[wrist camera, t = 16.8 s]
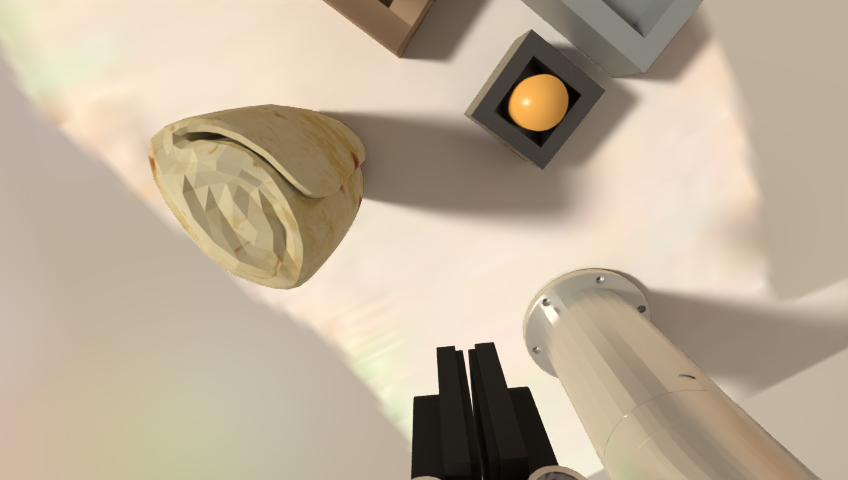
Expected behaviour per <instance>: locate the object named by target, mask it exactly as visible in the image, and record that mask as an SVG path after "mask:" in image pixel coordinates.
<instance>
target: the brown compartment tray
mask: <svg viewBox="0 0 848 480" xmlns="http://www.w3.org/2000/svg"><path fill="white" fill-rule="evenodd" d="M323 1H324V2H326V3H327V4H328V5H330V6H331V7H332V8H334V9H335V10H336V11H337V12H339V13H340V14H341V15H343V16H344V17H345V18H347V19H348V20H349V21H351V22H352V23H353V24H355V25H356V26H357V27H359V28H360V29H361V30H363V31H364V32H365V33H367V34H368V35H369V36H371V37H372V38H373V39H375V40H376V41H377V42H379V43H380V44H381V45H383V46H384V47H385V48H387V49H388V50H389V51H391V52H392V53H393V54H395V55H396V56H397V57H399V58H400V56H401V55H402V53H403V51H404V50H405V48H406V47H407V45H408V43H409V42H410V40H411V38H412V37H413V35H414V34H415V32H416V30H417V29H418V27H419V26H420V24H421V22H422V21H423V19H424V17H425V16H426V14H427V13H428V11H429V9H430V8H431V6H432V5H433V3H434V1H435V0H323Z"/></svg>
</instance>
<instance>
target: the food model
mask: <svg viewBox="0 0 848 480" xmlns="http://www.w3.org/2000/svg"><path fill="white" fill-rule="evenodd" d="M365 160H366V150H365V147H364V145H363V144H362V142H361V140H360V138H359V137H358V136H357V135H356V134H355V133H354V132H353V131H352V130H351V129H349V128H348V127H347V126H345V125H344V124H343V123H342V122H340V121H338V120H336V119H333V118H331V117H328V116H326V115H323V114H320V113H318V112H315V111H312V110H308V109H301V108H295V107H289V106H279V105H273V104H269V105H259V106H248V107H242V108H236V109H228V110H223V111H218V112H213V113H208V114H203V115H198V116H194V117H189V118H185V119H182V120H180V121H177V122H175V123H172V124H169V125H167V126H165V127H164V128H163V129H162V130H161V131H159V132H158V133H157V134H156V135H155V136H154V137H152V138H151V140H150V150H149V161H150V165H151V169H152V173H153V177H154V180H155V182H156V184H157V186H158V188H159V190H160V192H161V194H162V196H163V198H164V200H165V203H166V204H167V205H168V207H169V208H170V210H171V211H172V212H173V214H174V215H175V217H176V218H177V219H178V221H179V222H180V223H181V225H182V226H183V228H184V229H185V230H186V231H187V232H188V234H189V235H190V236H191V237H192V238H193V240H194V241H195V242H196V243H197V244H198V246H199V247H200V248H201V249H202V250H203V252H204V253H205V254H206V255H207V256H209V257H210V258H211V259H213V260H214V261H215V262H217V263H218V264H219V265H221V266H222V267H223V268H225V269H226V270H227V271H229V272H230V273H231V274H233V275H235V276H238V277H240V278H243V279H246V280H248V281H251V282H253V283H256V284H259V285H263V286H267V287H271V288H275V289H292V288H296V287H299V286H300V285H302V284H303V283H305V282H306V281H307V280H308V279H310V278H311V277H312V276H313V275H314V274H315V273H316V272H317V270H318V269H319V268H320V267H321V266H322V265H323V264H324V263H325V261H326V260H327V259H328V258H329V257H330V255H331V254H332V253H333V252H334V251H335V249H336V248H337V247H338V245H339V244H340V242H341V241H342V239H343V238H344V236H345V235H346V233H347V232H348V230H349V228H350V227H351V225H352V223H353V221H354V219H355V217H356V215H357V212H358V210H359V207H360V204H361V201H362V198H363V175H362V171H361V167H360V165H361V164H362V163H363V162H364V161H365Z"/></svg>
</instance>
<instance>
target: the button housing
mask: <svg viewBox="0 0 848 480" xmlns="http://www.w3.org/2000/svg"><path fill="white" fill-rule="evenodd" d="M542 74H547V75H552V76H554V77H556V78H558V79H559V80H560V81H561V82H562V83H563V84H564V86H565V87H566V90H567V93H568V107H567V110H566V113H565V115H564V117H563V118H562V119H561V121H560V122H559V123H558V124H557V125H555V126H554V127H552V128H550V129H547V130H543V131H535V130H530V129H526V128H521V127H517V126H515V125H513V124H511V123H510V122H509V121H508V120H507V119H506V117H505V115H504V112H503V108H502V103H503V98H504V96H505V95H506V93H507V92H508V91H509V89H510V88H511V86H512V85H513V84H514V82H516V81H518V80H521V79H525V78H529V77H533V76H536V75H542ZM604 92H605V90H604V89H603V88H601V87H600V86H599V85H598V84H597V83H596V82H594V81H593V80H592V79H591V78H590V77H588V76H587V75H586V74H585V73H584V72H582V71H581V70H580V69H579V68H578V67H576V66H575V65H574V64H573V63H572V62H570V61H569V60H568V59H567V58H566V57H564V56H563V55H562V54H561V53H560V52H558V51H557V50H556V49H555V48H554V47H552V46H551V45H550V44H549V43H548V42H546V41H545V40H544V39H543V38H542V37H540V36H539V35H538V34H537V33H536V32H534V31H533V30H532V29H531V30H530V31H528V32H527V33H525V34H524V35H522V36H521V37H519V38H518V39H516V40H515V41H514V43H513V44H512V46H511V47H510V48H509V50H508V51H507V53H506V54H505V56H504V57H503V59H502V60H501V61H500V63H499V64H498V66H497V67H496V69H495V70H494V71H493V73H492V74H491V76H490V77H489V79H488V80H487V82H486V83H485V84H484V86H483V87H482V89H481V90H480V92H479V93H478V95H477V96H476V97H475V99H474V100H473V102H472V103H471V105H470V106H469V108H468V109H467V110H466V112H465V113H464V115H465V116H467V117H468V118H469V119H471V120H472V121H474V122H475V123H476V124H478V125H479V126H480V127H482V128H483V129H484V130H486V131H487V132H488V133H490V134H491V135H492V136H494V137H495V138H496V139H498V140H499V141H500V142H502V143H503V144H504V145H506V146H507V147H508V148H510V149H511V150H512V151H514V152H515V153H516V154H518V155H519V156H520V157H522V158H523V159H524V160H526V161H527V162H529V163H531V164H533V165H535V166H537V167H539V168H540V169H542V170H543V169H544V168H545V166H546V165H547V164H548V163H549V161H550V160H551V159H552V158H553V156H554V155H555V154H556V153H557V151H558V150H559V149H560V147H561V146H562V145H563V144H564V142H565V141H566V140H567V139H568V137H569V136H570V135H571V133H572V132H573V131H574V130H575V128H576V127H577V126H578V125H579V123H580V122H581V121H582V120H583V118H584V117H585V116H586V114H587V113H588V112H589V111H590V109H591V108H592V107H593V106H594V104H595V103H596V102H597V100H598V99H599V98H600V97H601V95H602V94H603V93H604Z"/></svg>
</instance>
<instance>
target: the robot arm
mask: <svg viewBox="0 0 848 480" xmlns="http://www.w3.org/2000/svg"><path fill="white" fill-rule="evenodd" d="M544 299H545V300H544ZM523 337H524V341H525V344H526V347H527V350H528V352H529V354H530V356H531V357H532V359H533V360H534V362H535V363H536V364H537V365H538V366H539V367H540V368H541V369H542V370H543V371H545V372H547V373H548V374H550V375H552V376H554V377H557V378H559V380H560V382H561V384H562V386H563V387H564V389H565V391H566V393H567V395H568V397H569V399H570V401H571V403H572V405H573V407H574V409H575V411H576V413H577V415H578V417H579V419H580V421H581V423H582V425H583V427H584V429H585V431H586V433H587V435H588V437H589V439H590V441H591V443H592V445H593V447H594V448H595V450H596V452H597V454H598V456H599V458H600V460H601V462H602V464H603V466H604V468H605V470H606V472H607V474H608V476H609V478H610V479H611V480H821V479H820V478H819V477H817V476H816V475H815V474H814V473H813V472H812V471H810V470H809V469H808V468H807V467H806V466H805V465H804V464H803V463H801V462H800V461H799V460H798V459H797V458H796V457H795V456H794V455H792V454H791V453H790V452H789V451H788V450H787V449H786V448H785V447H784V446H782V445H781V444H780V443H779V442H778V441H777V440H776V439H774V438H773V437H772V436H771V435H770V434H769V433H768V432H766V431H765V430H764V429H763V428H762V427H761V426H760V425H759V424H758V423H757V422H756V421H754V420H753V419H752V417H750V416H749V415H748V414H747V413H746V412H745V411H744V410H743V409H742V408H741V407H739V405H738V404H736V403H735V402H734V401H733V400H732V399H731V398H730V397H729V396H728V395H727V394H726V393H724V392H723V391H722V390H721V389H720V388H719V387H718V386H717V385H716V384H715V383H714V382H713V381H712V380H711V379H710V378H709V377H708V376H706V375H705V374H704V373H703V372H702V371H701V370H700V369H699V368H698V367H697V366H696V365H695V364H694V363H693V362H692V361H691V360H690V359H688V358H687V357H686V356H685V355H684V354H683V353H682V352H681V351H680V350H679V349H678V348H677V347H676V346H675V345H674V344H673V343H672V342H670V341H669V340H668V339H667V338H666V337H665V336H664V335H663V334H662V333H661V332H660V331H659V330H658V329H657V328H656V327H655V326H653V325H652V324H651V316H650V308H649V306H648V303H647V300H646V298H645V297H644V295H643V294H642V292H641V291H640V290H639V289H638V288H637V287H636V286H635V285H634V284H633V283H632V282H630V281H629V280H628V279H626V278H625V277H623V276H621V275H619V274H617V273H614V272H611V271H607V270H602V269H585V270H578V271H574V272H571V273H568V274H565V275H563V276H561V277H559V278H557V279H555V280H553V281H552V282H551V283H549V284H548V285H547V286H545V287H544V288H543V289H542V290H541V291H540V292H539V293H538V294H537V295H536V296H535V298H534V299H533V301H532V303H531V304H530V306H529V308H528V310H527V313H526V315H525V319H524V325H523ZM468 354H469V367H470V379H471V391H472V403H473V410H472V404H471V398H470V392H469V386H468V380H467V374H466V368H465V362H464V356H463V350H459V351H455V346H447V347H437V365H438V382H439V394H438V395H427V396H416V397H414V403H413V437H412V470H411V480H482V478H483V480H587V479H586V478H585V477H583V476H582V475H581V474H579V473H578V472H576V471H574V470H572V469H569V468H567V467H562V466H559V465H558V462H557V460H556V457H555V454H554V452H553V449H552V447H551V444H550V441H549V439H548V436H547V433H546V431H545V428H544V426H543V423H542V420H541V418H540V415H539V412H538V410H537V407H536V405H535V402H534V399H533V397H532V394H531V392H530V389H529V388H528V387H516V388H507V384H506V381H505V378H504V374H503V371H502V368H501V365H500V361H499V358H498V355H497V351H496V348H495V345H494V343H493V342H490V343H479V344H475V349H470V350H468ZM473 415H474V416H473Z"/></svg>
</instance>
